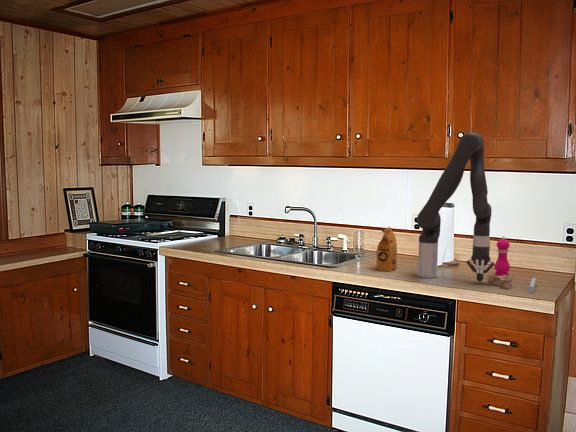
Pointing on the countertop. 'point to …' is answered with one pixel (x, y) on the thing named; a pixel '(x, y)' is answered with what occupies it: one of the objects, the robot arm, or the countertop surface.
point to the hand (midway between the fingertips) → (479, 281)
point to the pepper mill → (502, 258)
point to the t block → (500, 281)
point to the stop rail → (532, 285)
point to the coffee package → (387, 252)
